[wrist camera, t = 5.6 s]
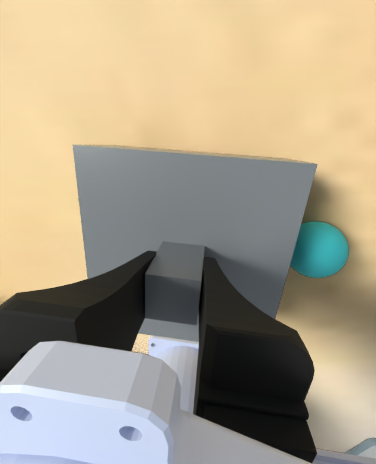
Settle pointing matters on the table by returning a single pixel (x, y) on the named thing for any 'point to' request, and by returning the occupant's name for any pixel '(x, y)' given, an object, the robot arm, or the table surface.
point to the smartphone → (365, 449)
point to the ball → (319, 250)
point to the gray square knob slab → (191, 224)
